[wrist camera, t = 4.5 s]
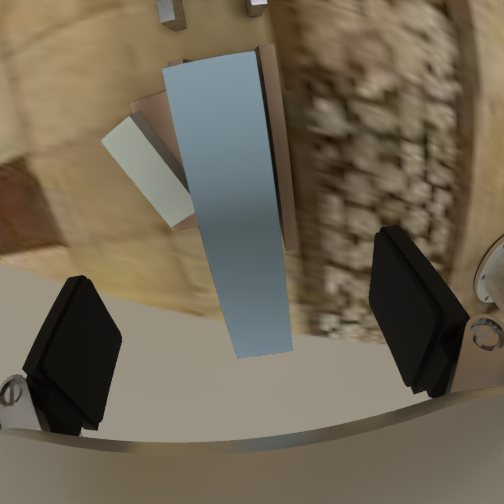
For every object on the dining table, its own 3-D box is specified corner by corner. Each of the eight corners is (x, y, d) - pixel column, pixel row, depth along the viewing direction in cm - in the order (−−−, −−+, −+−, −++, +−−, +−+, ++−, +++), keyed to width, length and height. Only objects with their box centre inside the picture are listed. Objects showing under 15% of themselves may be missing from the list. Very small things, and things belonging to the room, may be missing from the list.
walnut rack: (266, 48, 21) (274, 43, 17) (289, 220, 30) (298, 248, 26) (180, 63, 21) (167, 62, 17) (216, 231, 30) (213, 261, 26)
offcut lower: (177, 87, 23) (171, 89, 21) (212, 210, 29) (210, 223, 27) (137, 100, 23) (128, 103, 21) (176, 219, 30) (172, 232, 28)
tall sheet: (243, 63, 22) (254, 50, 8) (267, 214, 29) (292, 350, 16) (206, 69, 22) (161, 69, 8) (235, 218, 29) (237, 358, 16)
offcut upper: (139, 110, 21) (129, 115, 19) (203, 195, 26) (200, 208, 24) (112, 133, 22) (100, 140, 20) (176, 213, 27) (171, 227, 24)
